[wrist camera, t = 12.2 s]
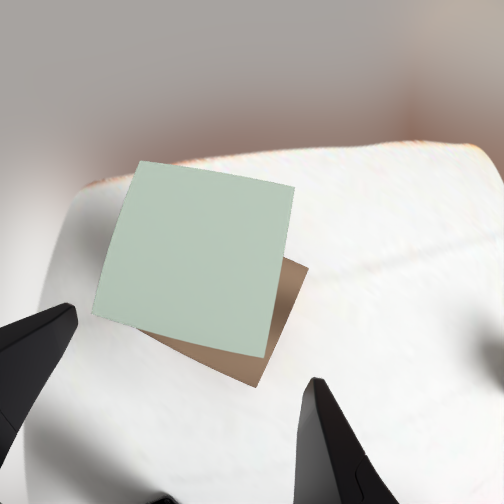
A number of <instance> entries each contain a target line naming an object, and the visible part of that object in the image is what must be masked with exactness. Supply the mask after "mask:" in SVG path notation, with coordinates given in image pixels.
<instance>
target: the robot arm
mask: <svg viewBox="0 0 504 504" xmlns="http://www.w3.org/2000/svg"><path fill="white" fill-rule="evenodd" d="M77 326H78V318H77V313H76V308H75V306H74V305H72V304H69V303H63V304H60V305H57V306H55V307H52V308H50V309H47V310H44V311H42V312H39V313H37V314H34V315H32V316H29V317H26V318H24V319H21V320H19V321H16V322H13V323H11V324H8V325H6V326H3V327H1V328H0V468H1V466H2V464H3V462H4V460H5V458H6V456H7V453H8V451H9V449H10V447H11V445H12V443H13V441H14V439H15V437H16V435H17V433H18V431H19V429H20V428H21V426H22V424H23V422H24V420H25V418H26V416H27V415H28V413H29V411H30V409H31V407H32V406H33V404H34V402H35V400H36V399H37V397H38V395H39V393H40V392H41V390H42V388H43V387H44V385H45V383H46V382H47V380H48V378H49V377H50V375H51V373H52V372H53V370H54V369H55V367H56V365H57V364H58V362H59V361H60V359H61V357H62V356H63V354H64V352H65V350H66V348H67V346H68V344H69V342H70V340H71V338H72V336H73V334H74V332H75V330H76V329H77ZM166 500H169V501H170V502H167V501H166ZM0 504H2V503H0ZM147 504H178V503H177V502H176V501H175V500H174V499H173V498H172V497H171V496H164V497H161V498H159V499H157V500H154V501H152V502H149V503H147ZM293 504H399V503H398V501H397V500H396V499H395V497H394V496H393V495H392V493H391V492H390V490H389V489H388V488H387V486H386V485H385V484H384V482H383V481H382V479H381V478H380V477H379V475H378V474H377V472H376V470H375V469H374V467H373V465H372V464H371V462H370V460H369V458H368V457H367V455H365V451H364V450H363V448H362V446H361V444H360V443H359V441H358V439H357V437H356V435H355V434H354V432H353V430H352V428H351V426H350V425H349V423H348V421H347V419H346V418H345V416H344V414H343V412H342V410H341V409H340V407H339V405H338V403H337V401H336V400H335V398H334V396H333V394H332V392H331V391H330V389H329V387H328V385H327V384H326V382H325V380H324V379H322V378H316V377H313V378H311V380H310V382H309V383H308V385H307V387H306V389H305V391H304V393H303V398H302V405H301V411H300V418H299V424H298V431H297V446H296V468H295V486H294V501H293Z"/></svg>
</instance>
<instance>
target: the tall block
mask: <svg viewBox="0 0 504 504" xmlns="http://www.w3.org/2000/svg"><path fill="white" fill-rule="evenodd" d="M294 189H295V187H292V186H287V185H283V184H278V183H273V182H268V181H263V180H258V179H253V178H248V177H243V176H237V175H232V174H226V173H220V172H215V171H209V170H203V169H196V168H190V167H183V166H177V165H170V164H162V163H154V162H147V161H140V162H139V165H138V167H137V170H136V172H135V174H134V177H133V179H132V182H131V185H130V187H129V190H128V192H127V195H126V198H125V201H124V203H123V206H122V209H121V212H120V215H119V217H118V220H117V223H116V226H115V229H114V232H113V236H112V239H111V242H110V245H109V248H108V252H107V255H106V259H105V262H104V266H103V269H102V273H101V276H100V280H99V284H98V288H97V292H96V296H95V300H94V304H93V309H92V313H91V314H94V315H97V316H100V317H103V318H106V319H109V320H112V321H115V322H118V323H121V324H125V325H128V326H131V327H135V328H138V329H141V330H145V331H148V332H152V333H155V334H159V335H163V336H166V337H170V338H174V339H178V340H182V341H186V342H190V343H194V344H198V345H202V346H207V347H211V348H215V349H220V350H225V351H229V352H234V353H239V354H244V355H249V356H255V357H260V358H264V355H265V350H266V345H267V340H268V335H269V330H270V325H271V320H272V315H273V309H274V304H275V299H276V293H277V288H278V283H279V277H280V272H281V266H282V261H283V255H284V249H285V243H286V238H287V232H288V226H289V220H290V214H291V208H292V202H293V195H294Z"/></svg>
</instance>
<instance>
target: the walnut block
mask: <svg viewBox="0 0 504 504" xmlns="http://www.w3.org/2000/svg"><path fill="white" fill-rule="evenodd" d="M308 269H309V268H307V267H305V266H303V265H300V264H298V263H296V262H294V261H292V260H289V259H287V258H285V257H283V261H282V266H281V272H280V277H279V283H278V288H277V293H276V299H275V304H274V309H273V315H272V320H271V325H270V330H269V335H268V340H267V345H266V350H265V355H264V358H260V357H255V356H249V355H244V354H239V353H234V352H229V351H225V350H220V349H215V348H211V347H207V346H202V345H198V344H194V343H190V342H186V341H182V340H178V339H174V338H170V337H166V336H163V335H159V334H155V333H152V332H148V331H145V330H141V329H138V328H136V329H138V330H140V331H142V332H143V333H145V334H147V335H149V336H150V337H152V338H154V339H156V340H158V341H159V342H161V343H163V344H165V345H167V346H169V347H171V348H172V349H174V350H176V351H178V352H180V353H182V354H184V355H186V356H188V357H190V358H192V359H194V360H196V361H198V362H200V363H202V364H204V365H206V366H208V367H210V368H212V369H214V370H216V371H219V372H221V373H223V374H225V375H227V376H229V377H232V378H234V379H236V380H238V381H241V382H243V383H245V384H248V385H250V386H252V387H255V388H256V387H257V385H258V383H259V381H260V379H261V376H262V374H263V372H264V370H265V368H266V366H267V364H268V361H269V359H270V357H271V355H272V353H273V351H274V348H275V346H276V344H277V342H278V339H279V337H280V335H281V333H282V330H283V328H284V326H285V324H286V321H287V319H288V317H289V314H290V312H291V310H292V307H293V305H294V303H295V300H296V298H297V296H298V293H299V291H300V288H301V286H302V284H303V281H304V279H305V276H306V274H307V271H308Z"/></svg>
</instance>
